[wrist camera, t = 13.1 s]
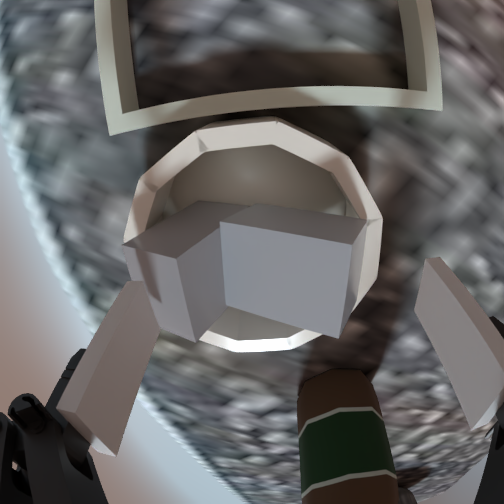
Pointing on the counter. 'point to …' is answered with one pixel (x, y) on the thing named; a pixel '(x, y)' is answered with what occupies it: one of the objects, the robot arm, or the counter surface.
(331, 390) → the beer bottle
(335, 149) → the bowl
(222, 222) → the light grey cuboid
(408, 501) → the bundt pan
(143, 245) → the grey rectangular block
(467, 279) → the counter surface
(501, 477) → the robot arm
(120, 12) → the square frame
